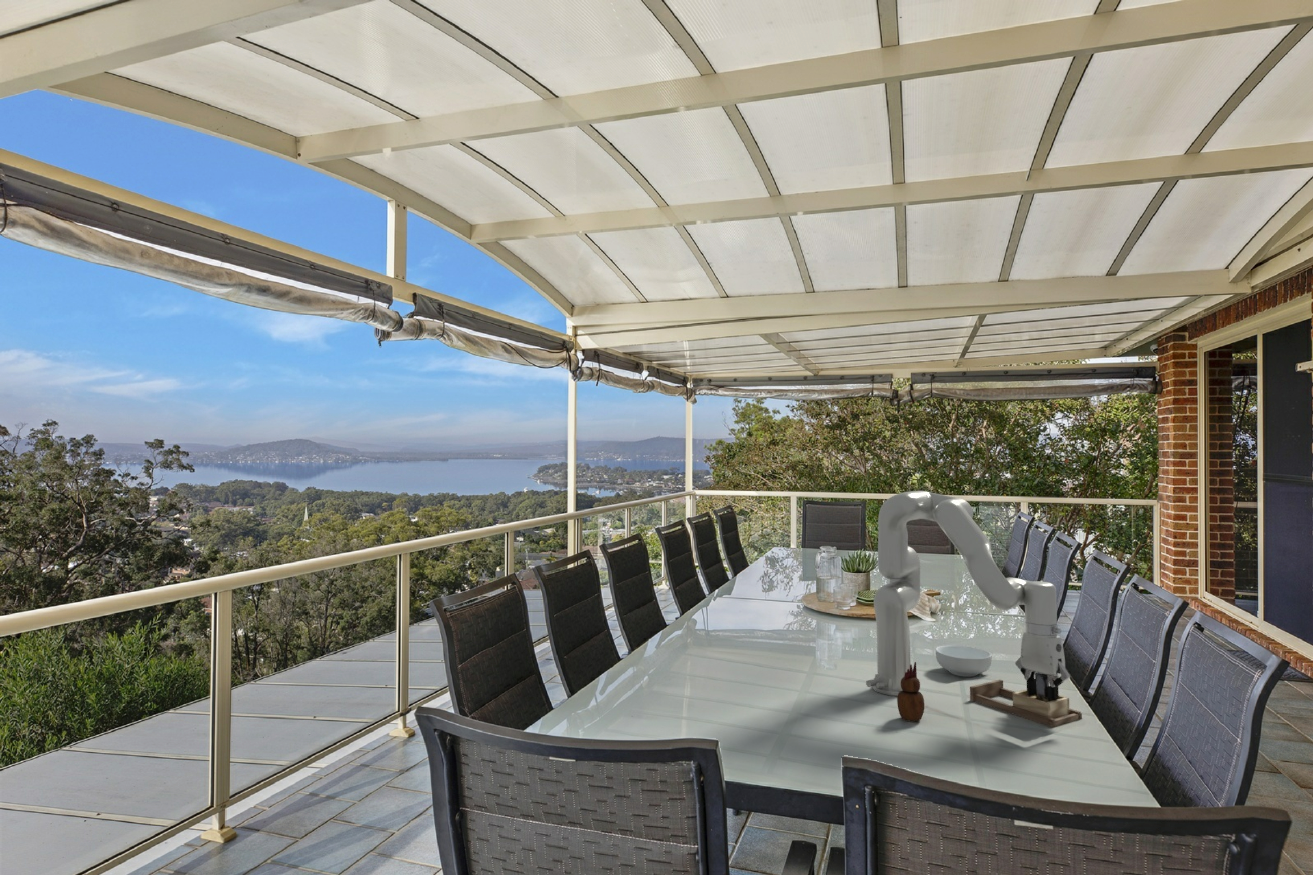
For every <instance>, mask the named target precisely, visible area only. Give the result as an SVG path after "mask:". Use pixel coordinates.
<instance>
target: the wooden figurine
mask: <svg viewBox="0 0 1313 875" xmlns="http://www.w3.org/2000/svg"><path fill="white" fill-rule="evenodd" d="M917 674H918V673H917V662H916V661H915V662H914V664H913V665H912V664H910V671H909V669H907V672H905V676H904V677H903V678H902V679H901V689H902V691H900V692H899V693H898V696H896V697H897V698H896V701H897V702H896V703H897V709H898V714H899V715H900V716H899V717H900V718H901V719H902V720H904V721H907V722H918V721H920V720H922V717H923V715H924V713H925V698H924V695H923V694H922V692H921V691H920V689H921V682H920V680H919V679H918V676H917Z"/></svg>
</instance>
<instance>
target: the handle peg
mask: <svg viewBox="0 0 1313 875" xmlns="http://www.w3.org/2000/svg"><path fill="white" fill-rule="evenodd" d="M1034 679H1035V684H1036V699H1037V700H1041V701H1044V702H1049V701H1048V686H1050V683H1049V680H1048V677H1047V675H1046V674H1042V673H1039V672H1036V673H1035V678H1034Z"/></svg>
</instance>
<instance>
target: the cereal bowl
mask: <svg viewBox="0 0 1313 875" xmlns="http://www.w3.org/2000/svg"><path fill="white" fill-rule="evenodd" d="M992 656H993V655H992V653H991V652H990V651H987V650H985V649H982V648H977V647H973V646H967V645H965V646H964V645H941V646H937V647H936V648H935V659H936V661H937V663H938V665H939V666H940V667H942V668H943V669H944V670H946V671H949V673H951V675H954V676H958V677H966V678H967V677H968V678H971V677H972V678H973V677H976V676H977V675H979V674H983V673H986V672H987V671H988V670H989V669H990V667H991V665H992V660H993V658H992Z"/></svg>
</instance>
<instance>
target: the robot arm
mask: <svg viewBox="0 0 1313 875" xmlns="http://www.w3.org/2000/svg"><path fill="white" fill-rule="evenodd" d="M973 516H974V510H973V508H972V506H971V505H970V503H969V502H968V501H967V500H965V499H963V498H960V497H955V496H950V495H945V494H940V493H935V492H931V491H926V490H913V491H911V490H910V491H904V492H900V493H897V494H894V495H893V496H891V497H889V498H887V499H886V500H885V501H884V502H883V504H882V505H881V507H880V509H879V512H878V519H877V520H878V538H877V539H878V540H877V542H878V543H877V568H878V571H879V573H880V574H881V576H882V577H884V578H885V579H887V580H889V583H886V584H884V585H882V586H880V587H879V588H878V589H877V591H876V592H875V594H874V598H873V608H874V609H873V610H874V615H875V622H876V625H875V626H876V653H877V655H876V656H877V657H876V658H877V659H876V660H877V661H876V662H877V665H876V666H877V667H876V668H877V674H875V675H874V678H873V679H869V680H868V679H867V680H866V682H865V684H866V687H868V688H871V687H872V689H873V691H875V692H878V693H880V694H882V695H883V694H884V695H887V696H893V697H895V696H896V697H897V696H898V693H899V692H900V691H902V689H901V679H902V678H903V677H904V676H905V672H907V669H909V671H910V664H911V629H910V622H909V617H908V612H910V611H911V610H913V609H915V608H916V607H917V605H918V604H919V601H920V598H921V561H920V557H919V555H918V553H917V551H915V549H914V548H913V547H911V546H909V543H908V541H909V533H908V528H907V523H908V522H910V521H914V520H916V521H917V520H920V519H921V520H926V521H931V522H935V523H936V524H938V527H940V529H941V530H942V532H944V534H945V535H946V537H947V538H948V539H949V540H950V542H951V543H952V544H953V546H954V547H955V548H956V550H957V552H958V553H959V554H960V555H961V557H962V558H963V561H964V564H965V567H967V570H968V572H969V574H970V576H971V579H972V580H973V582H974V583H975V585H976V586H977V587H978V588H979V590H980V592H982V594H983V595H984V597H985V598H986V599H987V601H989V603H990V604H992V606H994V607H995V608H996V609H999V610H1002V611H1003V610H1004V611H1005V610H1006V611H1007V610H1012V609H1014V608H1015V607H1019V606H1021V605H1022V606H1023V605H1024V620H1025V621H1024V622H1025V624H1024V625H1025V627H1024V629H1025V630H1024V631H1023V634H1022V637H1021V645H1020V657H1019V658H1017V660H1016V661H1015V665H1016V667H1017V668H1018V669H1019V670H1020V672H1021V674H1022V675H1023V676H1024V680H1025V681H1026V690H1027V695H1029V696H1031V695H1035V694H1036V684H1035V673H1036V672H1039V673H1042V674H1046V675H1047V677H1048V680H1049V686H1048V701H1049V702H1050V701H1054V700H1058V695H1059V687H1060V686H1061V685H1062V684H1063V683H1064V682H1065V681H1067V680H1069V679H1070V678H1071V675H1070V673H1069V672H1068V670H1067V668H1066V659H1065V651H1064V645H1063V642H1062V637H1061V636H1060V635H1058V634H1061V633H1062V629H1061V628H1058V615H1057V614H1058V609H1057V608H1058V606H1057V605H1058V604H1057V588H1056V585H1054V584H1053V583H1051V582H1048V581H1041V580H1038V581H1035V580H1033V581H1031V580H1025V579H1021V578H1019V577H1018V578H1017V577H1005V575H1004V574H1003V573H1002V571H1001V570H1000V569H999V567H998V566H997V563H996V561H995V560H994V558H993V554H992V545H991V540H990V539H989V538H988V537H987V535H986V534H985V533H984V532H983V530H982V529H981V528H980V526H979V525H978V524H977V523H976V522H975V520H974V519H973ZM911 665H912V664H911ZM1059 675H1060V676H1059Z"/></svg>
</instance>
